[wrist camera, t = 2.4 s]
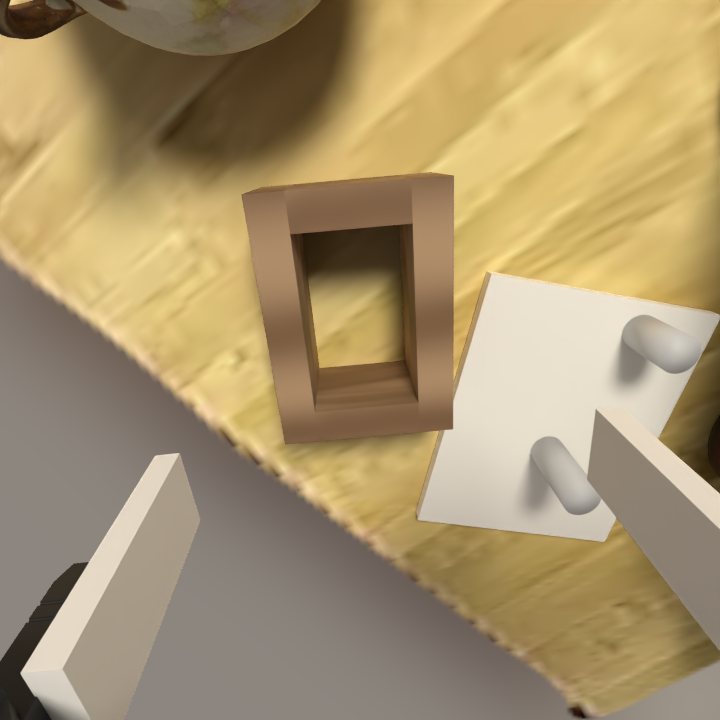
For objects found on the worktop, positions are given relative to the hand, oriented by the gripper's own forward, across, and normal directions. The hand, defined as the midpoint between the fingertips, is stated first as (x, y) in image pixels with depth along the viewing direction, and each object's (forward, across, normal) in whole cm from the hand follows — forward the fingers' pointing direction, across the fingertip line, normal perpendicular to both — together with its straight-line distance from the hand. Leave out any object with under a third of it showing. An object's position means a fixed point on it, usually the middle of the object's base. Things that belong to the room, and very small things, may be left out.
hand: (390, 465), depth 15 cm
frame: (+17, 0, +1) cm, 17 cm away
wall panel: (+17, +13, -10) cm, 24 cm away
